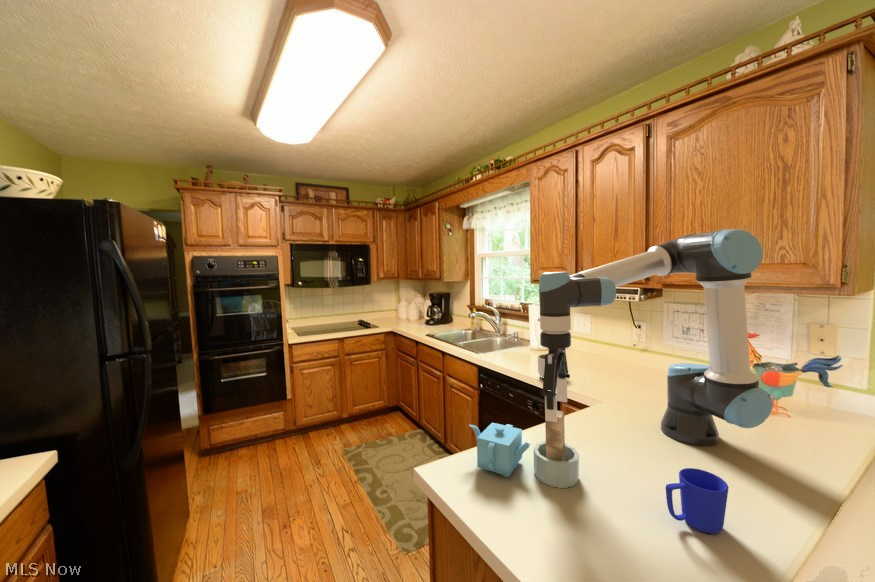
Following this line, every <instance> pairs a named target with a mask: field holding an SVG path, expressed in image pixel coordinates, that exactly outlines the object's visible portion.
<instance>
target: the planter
mask: <svg viewBox="0 0 875 582" xmlns="http://www.w3.org/2000/svg"><path fill="white" fill-rule="evenodd" d="M547 354H548V353H544V354H543V353H541V354H539V355H537V370H538V375H539V376H540V377H541V376H542V377H544V368H545V355H547ZM542 377H541V378H542ZM558 378H559V377H558Z"/></svg>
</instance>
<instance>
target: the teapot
mask: <svg viewBox="0 0 875 582" xmlns="http://www.w3.org/2000/svg"><path fill="white" fill-rule="evenodd" d="M468 426H469V427H470V428H471V429H472V430H473V432H474V435H475V438H476V455H477V457H476V460H477V464H476V466H477V467H478V468H479V469H483V471H485V472H493V473H496V474H499V475H501V476H503V477H504V478H510V477H511V475H512V473H513V472H514V470H515V469H516V467H517V466H518V464H519V463H520V461H521V460H522V458H523V454H524V453H525V452H526V451H527V450H528V449H529V448H530V446H531V444H530V443H529V442H527V441H525V442H524V443H523V429H521V428H518V427H514V425H513V424H508V423H507V424H505V425H504V424H501V423H497V422H496V423H495V422H491V423H490V424H489V425H488V426H487V427H486V428H485V429H484V430H483V431H482V432H481V431H480V429H479V427H478V426H476V425H475V424H469V425H468Z"/></svg>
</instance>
